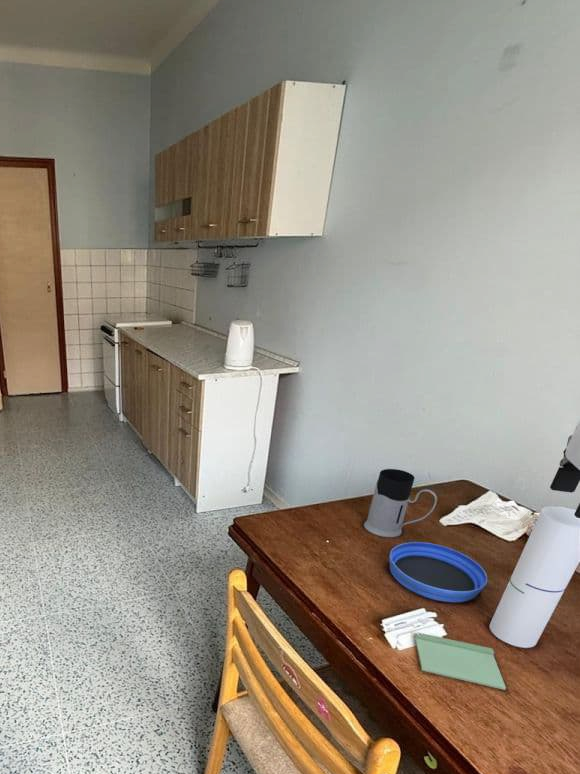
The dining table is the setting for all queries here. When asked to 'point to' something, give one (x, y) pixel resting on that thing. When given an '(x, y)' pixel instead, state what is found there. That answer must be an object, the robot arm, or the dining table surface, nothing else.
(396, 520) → the glass holder
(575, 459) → the robot arm
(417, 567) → the bowl
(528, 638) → the cylindrical container
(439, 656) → the green flat panel
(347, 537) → the dining table surface
